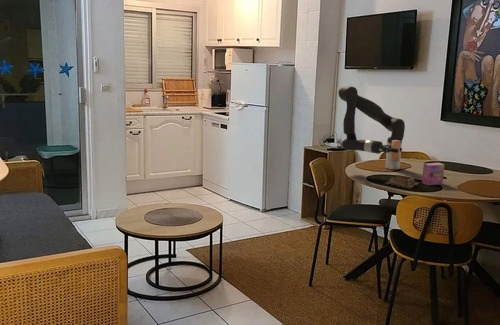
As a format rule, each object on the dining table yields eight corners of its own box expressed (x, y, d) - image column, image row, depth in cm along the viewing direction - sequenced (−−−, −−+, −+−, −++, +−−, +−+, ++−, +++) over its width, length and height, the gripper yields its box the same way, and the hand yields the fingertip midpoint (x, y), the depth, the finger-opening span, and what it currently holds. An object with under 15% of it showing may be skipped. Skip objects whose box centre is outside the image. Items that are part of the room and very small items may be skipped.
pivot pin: (392, 159, 300) (394, 139, 297) (400, 160, 297) (402, 140, 294) (388, 160, 296) (390, 140, 294) (396, 161, 293) (398, 141, 291)
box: (427, 185, 285) (429, 165, 283) (421, 182, 291) (423, 163, 288) (443, 184, 288) (445, 164, 286) (436, 182, 293) (438, 162, 291)
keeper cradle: (394, 179, 297) (394, 173, 296) (419, 183, 288) (419, 177, 287) (384, 183, 286) (385, 177, 286) (410, 188, 277) (410, 182, 277)
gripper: (368, 142, 298) (395, 145, 287) (378, 139, 309) (405, 142, 298) (367, 154, 299) (394, 158, 289) (378, 151, 310) (404, 155, 300)
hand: (399, 150), depth 293 cm, fingers closed on pivot pin, 5 cm apart
